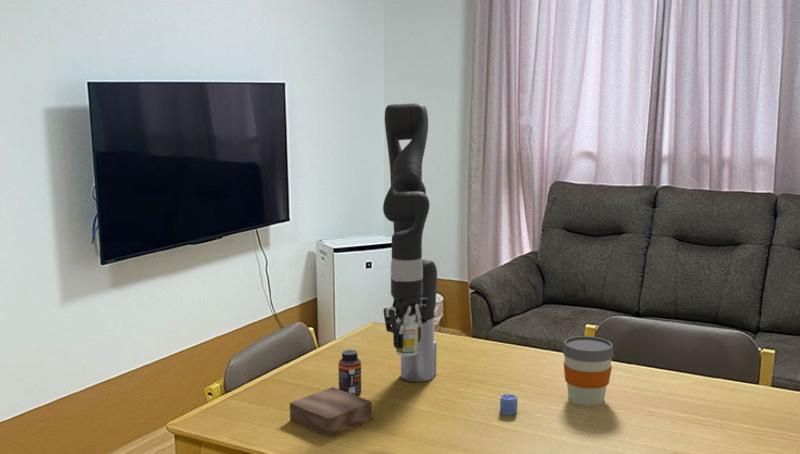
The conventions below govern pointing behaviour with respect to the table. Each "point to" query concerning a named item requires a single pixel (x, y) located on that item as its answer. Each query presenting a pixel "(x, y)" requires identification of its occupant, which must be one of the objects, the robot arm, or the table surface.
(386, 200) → the robot arm
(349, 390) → the supplement bottle
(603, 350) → the reusable coffee cup
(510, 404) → the decorative dice
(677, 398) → the table surface
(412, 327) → the supplement bottle
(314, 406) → the walnut stand
